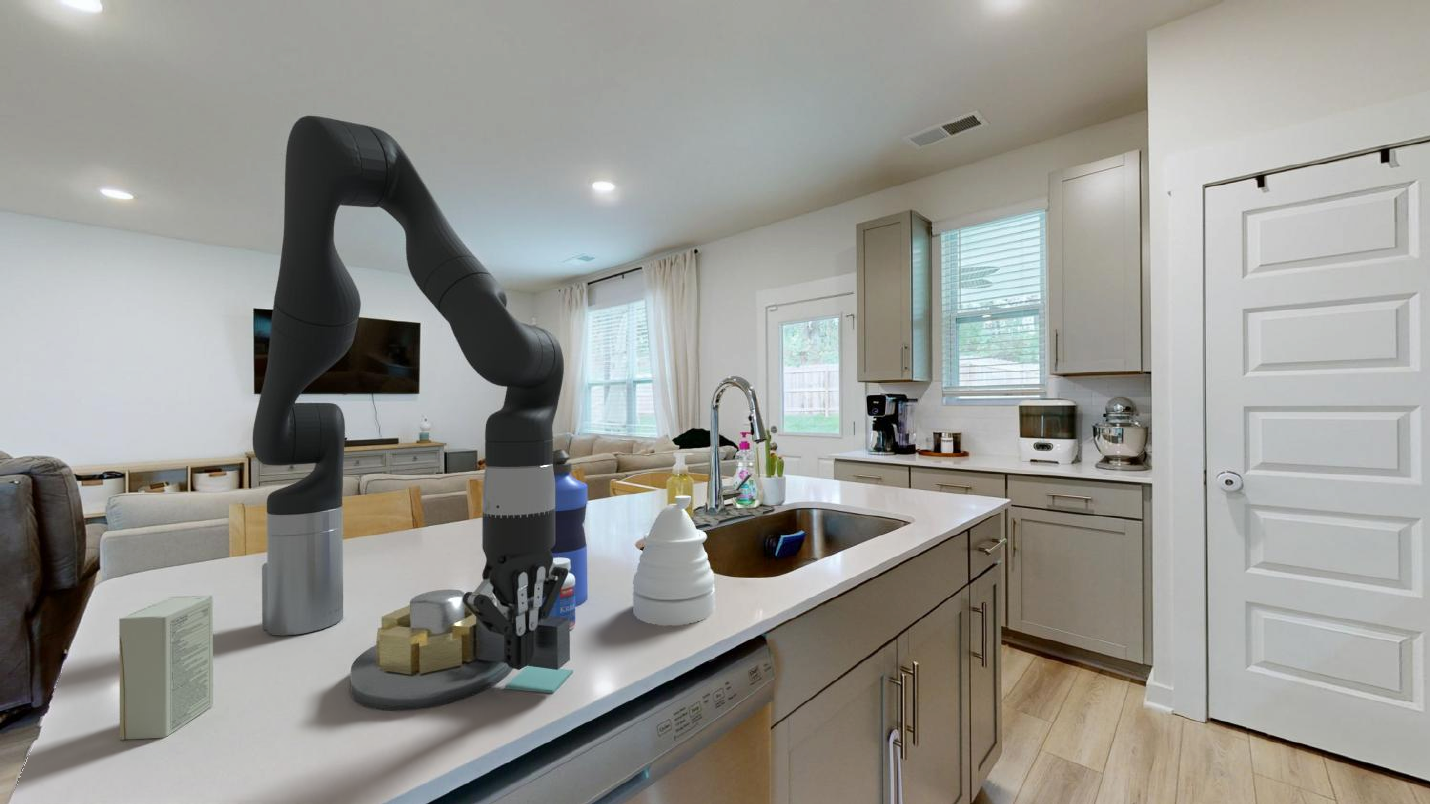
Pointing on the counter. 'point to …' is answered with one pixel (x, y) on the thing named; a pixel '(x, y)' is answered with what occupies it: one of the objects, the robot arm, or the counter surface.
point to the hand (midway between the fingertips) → (519, 665)
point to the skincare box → (165, 666)
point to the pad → (539, 679)
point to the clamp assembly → (462, 644)
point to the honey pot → (674, 571)
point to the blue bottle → (570, 522)
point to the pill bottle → (565, 595)
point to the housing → (429, 687)
